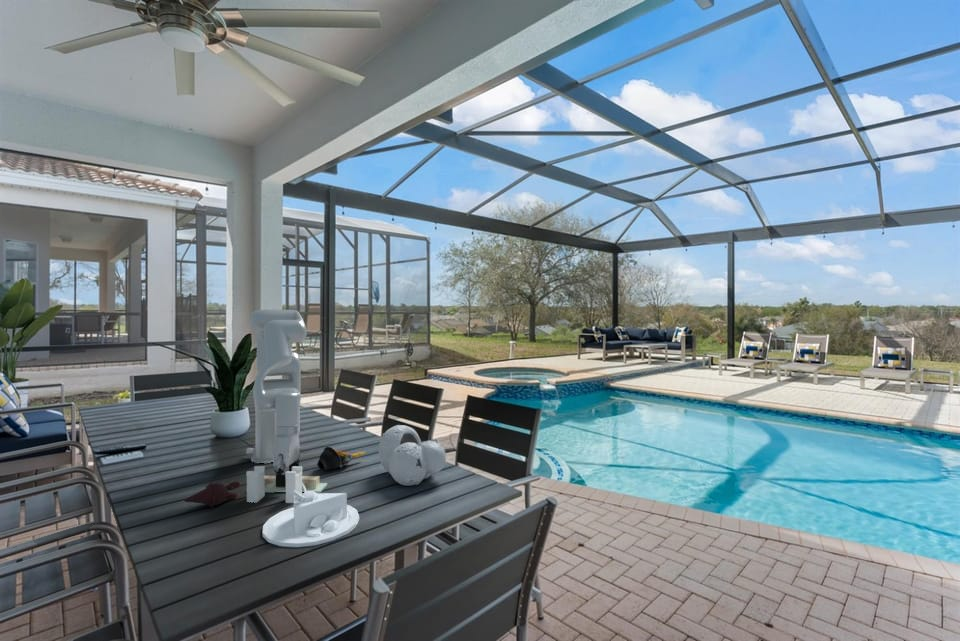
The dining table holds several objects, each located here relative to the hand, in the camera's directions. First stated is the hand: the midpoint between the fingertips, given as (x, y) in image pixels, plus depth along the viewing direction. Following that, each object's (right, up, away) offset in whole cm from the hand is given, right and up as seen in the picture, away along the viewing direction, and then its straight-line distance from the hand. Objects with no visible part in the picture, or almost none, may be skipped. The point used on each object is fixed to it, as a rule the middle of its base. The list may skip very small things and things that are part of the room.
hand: (287, 480), depth 151 cm
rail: (0, -2, 0) cm, 2 cm away
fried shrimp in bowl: (+11, -2, +22) cm, 25 cm away
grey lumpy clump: (+39, -3, +10) cm, 40 cm away
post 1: (-6, -3, -9) cm, 11 cm away
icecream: (-17, -3, -13) cm, 22 cm away
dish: (+17, -3, -25) cm, 31 cm away
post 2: (+6, -3, -9) cm, 11 cm away
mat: (0, -2, 0) cm, 2 cm away
